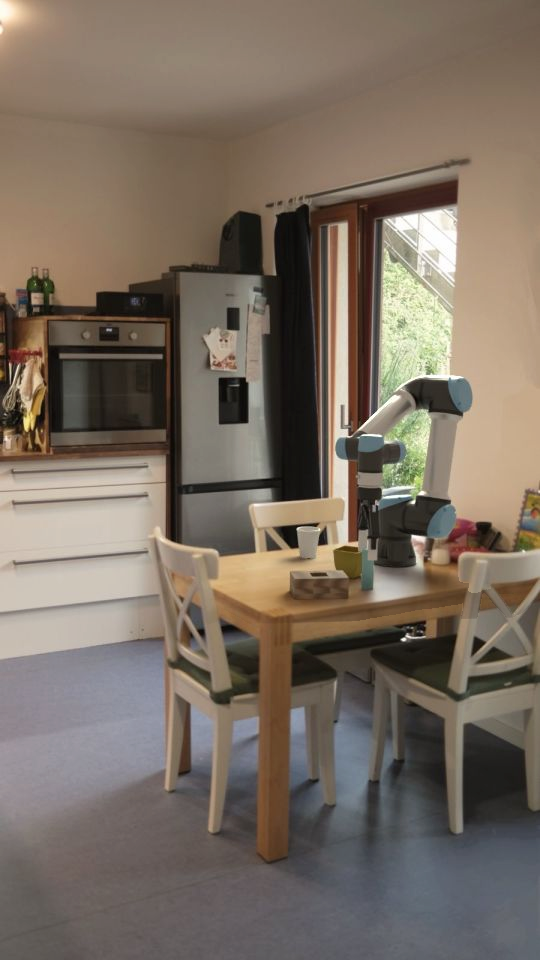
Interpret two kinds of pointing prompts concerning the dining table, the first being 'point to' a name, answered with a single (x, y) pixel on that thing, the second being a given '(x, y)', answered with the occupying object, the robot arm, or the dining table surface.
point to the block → (319, 584)
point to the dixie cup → (308, 541)
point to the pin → (367, 571)
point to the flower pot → (348, 560)
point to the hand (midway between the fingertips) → (367, 555)
